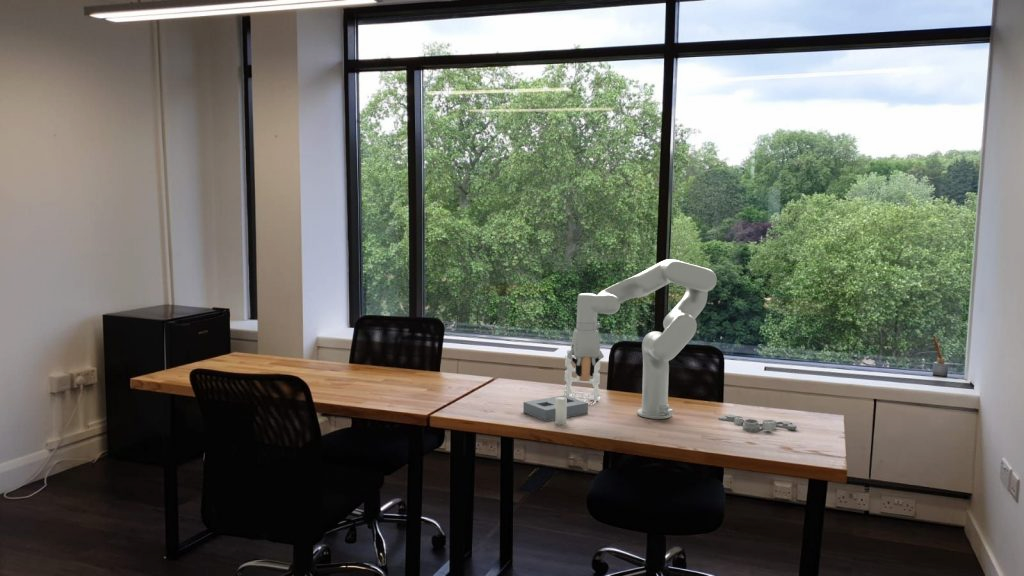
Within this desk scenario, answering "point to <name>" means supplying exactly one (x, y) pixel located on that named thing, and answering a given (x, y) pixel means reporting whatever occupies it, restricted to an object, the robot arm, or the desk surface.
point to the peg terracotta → (585, 369)
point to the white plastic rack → (570, 380)
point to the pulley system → (753, 424)
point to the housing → (554, 407)
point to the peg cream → (561, 411)
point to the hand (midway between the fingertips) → (584, 375)
